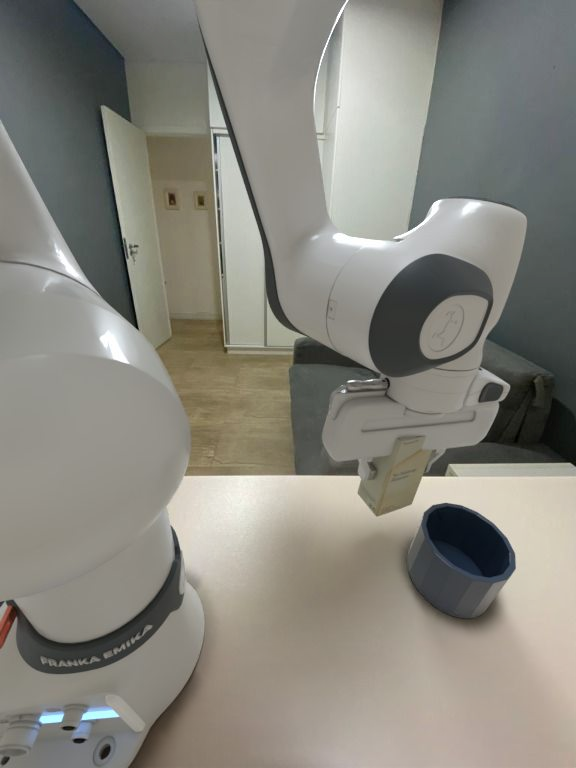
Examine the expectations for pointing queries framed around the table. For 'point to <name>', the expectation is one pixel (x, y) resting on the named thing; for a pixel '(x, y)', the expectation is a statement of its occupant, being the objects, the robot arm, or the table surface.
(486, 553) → the blue round bowl
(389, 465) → the cosmetic box
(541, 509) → the table surface
